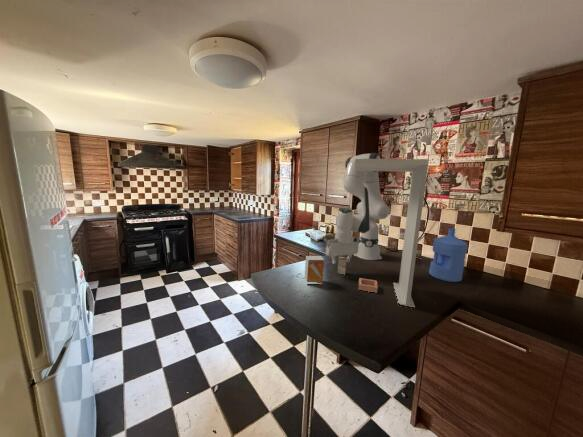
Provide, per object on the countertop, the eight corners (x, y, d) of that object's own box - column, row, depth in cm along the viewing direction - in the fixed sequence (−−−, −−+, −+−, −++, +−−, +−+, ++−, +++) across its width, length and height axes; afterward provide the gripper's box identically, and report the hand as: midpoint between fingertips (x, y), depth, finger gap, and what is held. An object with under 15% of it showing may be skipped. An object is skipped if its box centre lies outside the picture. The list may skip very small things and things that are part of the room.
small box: (306, 285, 111) (308, 259, 109) (304, 279, 117) (305, 255, 115) (322, 285, 112) (324, 259, 110) (319, 279, 118) (321, 255, 116)
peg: (338, 271, 130) (339, 256, 129) (345, 272, 129) (346, 257, 128) (337, 274, 127) (338, 258, 125) (344, 275, 125) (345, 259, 124)
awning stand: (348, 277, 123) (357, 163, 114) (406, 286, 114) (421, 164, 105) (344, 295, 102) (355, 158, 93) (414, 308, 93) (434, 159, 84)
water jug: (451, 272, 136) (458, 226, 132) (468, 283, 121) (477, 232, 117) (423, 270, 138) (430, 225, 134) (437, 281, 122) (445, 230, 118)
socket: (358, 283, 116) (359, 277, 115) (376, 286, 113) (376, 280, 113) (358, 290, 108) (358, 284, 107) (376, 293, 105) (377, 287, 105)
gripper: (331, 240, 117) (329, 266, 119) (361, 238, 127) (358, 262, 129) (324, 238, 123) (322, 262, 125) (353, 236, 132) (351, 259, 134)
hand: (340, 262), depth 127 cm, fingers open, 8 cm apart
